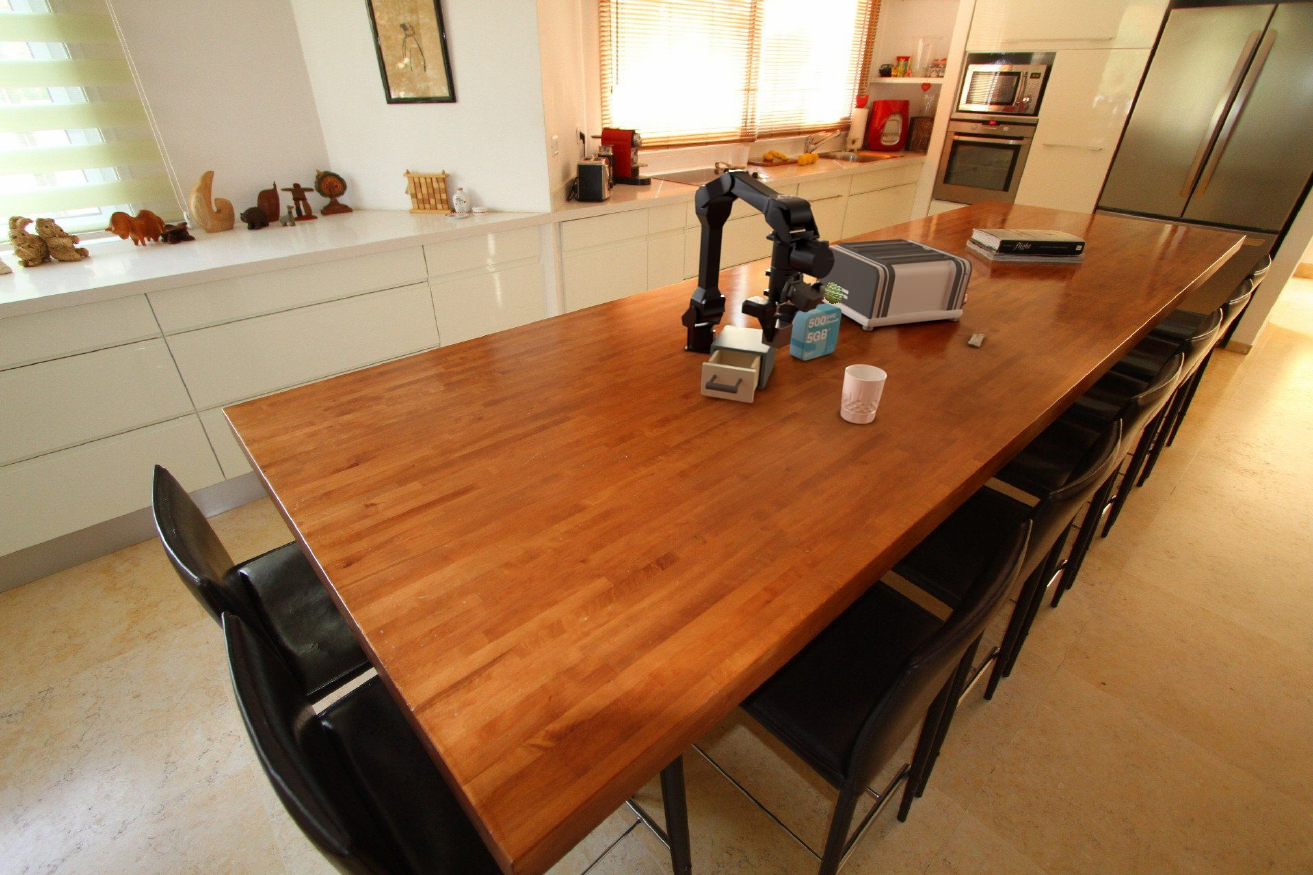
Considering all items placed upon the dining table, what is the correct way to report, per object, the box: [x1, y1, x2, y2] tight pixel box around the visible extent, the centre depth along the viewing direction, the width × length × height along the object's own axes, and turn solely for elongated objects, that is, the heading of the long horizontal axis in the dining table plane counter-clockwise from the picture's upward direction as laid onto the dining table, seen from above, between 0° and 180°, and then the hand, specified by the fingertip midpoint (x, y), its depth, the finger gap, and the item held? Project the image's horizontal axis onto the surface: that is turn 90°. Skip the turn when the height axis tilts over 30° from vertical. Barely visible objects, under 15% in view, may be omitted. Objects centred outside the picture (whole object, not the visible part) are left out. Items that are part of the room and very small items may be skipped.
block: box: [761, 319, 793, 350], centre depth 126 cm, size 4×4×4 cm
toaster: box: [815, 238, 973, 332], centre depth 176 cm, size 31×36×18 cm
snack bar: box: [967, 333, 986, 348], centre depth 157 cm, size 10×2×3 cm
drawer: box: [700, 349, 763, 404], centre depth 128 cm, size 18×11×7 cm, turn 160°
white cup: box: [839, 364, 888, 425], centre depth 120 cm, size 8×8×10 cm
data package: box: [789, 302, 843, 362], centre depth 147 cm, size 12×4×12 cm, turn 122°
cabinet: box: [709, 324, 777, 391], centre depth 137 cm, size 14×12×9 cm
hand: (776, 339), depth 127 cm, fingers closed on block, 4 cm apart
